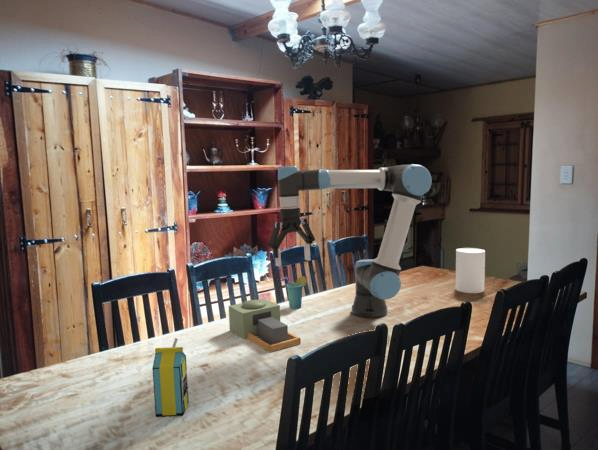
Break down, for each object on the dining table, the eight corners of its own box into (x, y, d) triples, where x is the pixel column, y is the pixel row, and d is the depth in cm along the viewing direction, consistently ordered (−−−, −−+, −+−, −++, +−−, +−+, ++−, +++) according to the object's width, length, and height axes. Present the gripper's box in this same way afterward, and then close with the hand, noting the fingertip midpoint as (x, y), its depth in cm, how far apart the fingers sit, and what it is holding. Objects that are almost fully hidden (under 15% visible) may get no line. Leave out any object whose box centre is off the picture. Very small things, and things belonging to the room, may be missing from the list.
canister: (449, 288, 233) (450, 249, 231) (469, 284, 239) (470, 247, 237) (469, 294, 221) (470, 253, 219) (490, 290, 227) (491, 251, 224)
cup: (286, 313, 200) (285, 279, 198) (276, 309, 206) (275, 276, 204) (311, 306, 208) (310, 274, 206) (300, 303, 214) (299, 271, 213)
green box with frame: (265, 322, 189) (264, 296, 187) (304, 342, 166) (303, 312, 164) (229, 330, 180) (228, 303, 178) (265, 353, 157) (264, 322, 155)
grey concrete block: (272, 334, 175) (271, 316, 174) (288, 344, 165) (287, 325, 164) (258, 337, 172) (257, 319, 171) (273, 348, 162) (272, 328, 161)
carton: (190, 400, 126) (186, 337, 123) (184, 415, 118) (180, 348, 116) (162, 401, 125) (158, 338, 123) (155, 417, 118) (150, 349, 115)
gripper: (310, 204, 182) (313, 256, 185) (256, 210, 168) (260, 267, 171) (322, 204, 176) (325, 258, 179) (267, 211, 162) (271, 270, 165)
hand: (293, 263), depth 175 cm, fingers open, 13 cm apart
